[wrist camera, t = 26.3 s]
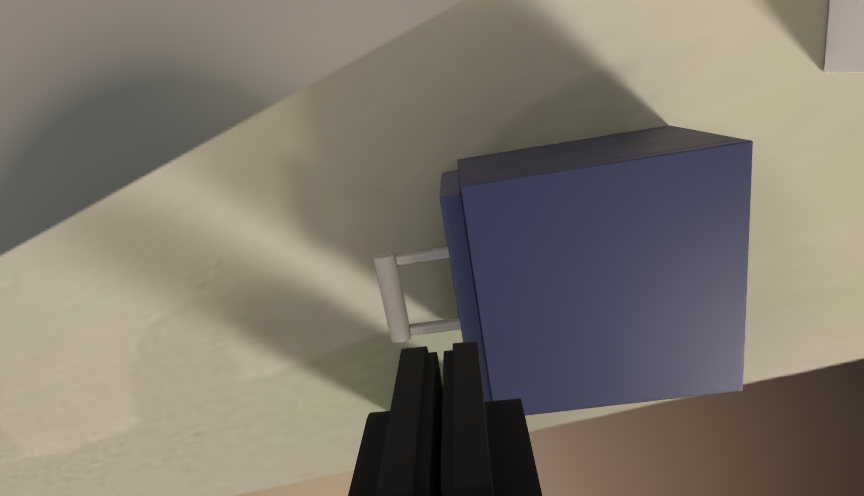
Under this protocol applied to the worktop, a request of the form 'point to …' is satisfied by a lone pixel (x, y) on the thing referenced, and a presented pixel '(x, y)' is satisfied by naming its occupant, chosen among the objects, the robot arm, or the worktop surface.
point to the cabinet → (611, 267)
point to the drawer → (460, 271)
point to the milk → (845, 37)
